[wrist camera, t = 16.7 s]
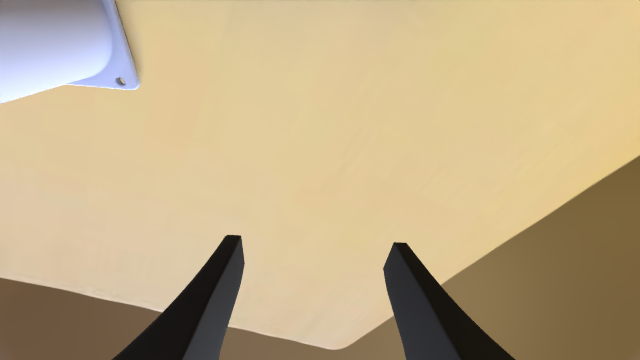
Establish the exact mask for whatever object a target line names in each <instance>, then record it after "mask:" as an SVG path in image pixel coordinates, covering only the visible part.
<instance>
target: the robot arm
mask: <svg viewBox="0 0 640 360" xmlns="http://www.w3.org/2000/svg"><path fill="white" fill-rule="evenodd" d="M120 78H122V79H123V80H124V82H125V84H123V83H122V82H121V81H120ZM64 84H69V85H80V86H92V87H103V88H114V89H125V90H135V89H137V88H139V86H140V81H139V78H138V74H137V71H136V68H135V65H134V62H133V58H132V55H131V52H130V49H129V45H128V42H127V39H126V36H125V33H124V29H123V26H122V23H121V20H120V17H119V13H118V10H117V7H116V4H115V0H0V104H1V103H4V102H8V101H11V100H14V99H18V98H21V97H24V96H28V95H31V94H34V93H38V92H41V91H44V90H48V89H51V88H54V87H58V86H61V85H64ZM244 264H245V263H244V255H243V247H242V239H241V236H239V235H227V236H225V238H224V239H223V241H222V242H221V243H220V245H219V246H218V248H217V249H216V250H215V252H214V253H213V254H212V256H211V257H210V258H209V260H208V261H207V262H206V264H205V265H204V266H203V267H202V269H201V270H200V271H199V272H198V274H197V275H196V276H195V277H194V278H193V280H192V281H191V282H190V283H189V284H188V285H187V287H186V288H185V289H184V290H183V291H182V292H181V293H180V294H179V296H178V297H177V298H176V299H175V300H174V301H173V302H172V303H171V304H170V305H169V306H168V307H167V308H166V310H165V311H164V312H163V313H162V314H161V315H160V316H159V317H158V318H157V319H156V320H155V321H154V322H153V323H152V324H151V325H149V326H148V327H147V328H146V329H145V330H144V331H143V332H142V333H141V334H140V335H139V336H138V337H137V338H136V339H135V340H134V341H133V342H131V344H129V345H128V346H127V347H126V348H125V349H124V350H122V351H121V352H120V353H119V354H118V355H117V356H115V357H114V358H113V359H112V360H218V359H219V355H220V350H221V346H222V343H223V339H224V336H225V333H226V329H227V326H228V323H229V320H230V317H231V314H232V310H233V307H234V304H235V301H236V298H237V294H238V291H239V288H240V284H241V279H242V274H243V269H244ZM383 270H384V276H385V282H386V287H387V292H388V295H389V299H390V302H391V306H392V309H393V312H394V316H395V319H396V323H397V326H398V329H399V332H400V336H401V339H402V343H403V347H404V351H405V356H406V360H515V359H514V358H513V357H512V356H510V355H509V354H508V353H507V352H506V351H505V350H504V349H503V348H501V347H500V346H499V345H498V344H497V343H496V342H495V341H494V340H492V339H491V338H490V337H489V336H488V335H487V334H486V333H485V332H484V331H483V330H482V329H481V328H480V327H479V326H478V325H477V324H476V323H475V322H474V321H472V319H471V318H470V317H469V316H468V315H467V314H466V313H465V312H464V311H463V310H462V309H461V308H460V307H459V306H458V305H457V304H456V303H455V302H454V300H453V299H452V298H451V297H450V296H449V295H448V294H447V293H446V292H445V290H444V289H443V288H442V287H441V286H440V284H439V283H438V282H437V281H436V280H435V278H434V277H433V276H432V275H431V274H430V272H429V271H428V270H427V269H426V267H425V266H424V265H423V264H422V262H421V261H420V260H419V259H418V257H417V256H416V255H415V253H414V252H413V251H412V250H411V248H410V247H409V246H408V245H407V243H396V242H394V243H393V246H392V248H391V251H390V253H389V256H388V258H387V261H386V263H385V265H384V268H383Z"/></svg>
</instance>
